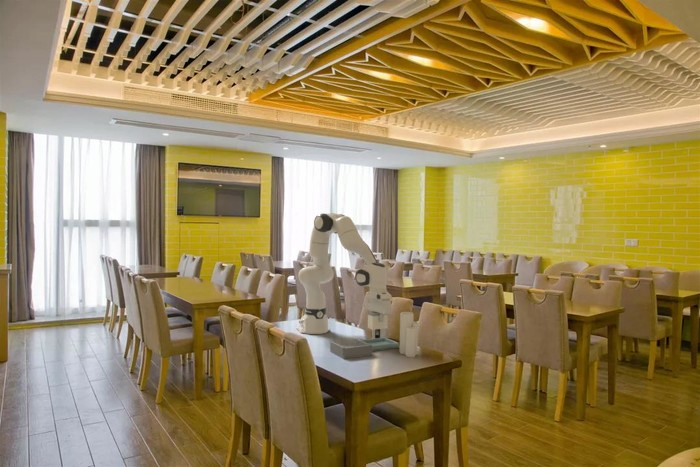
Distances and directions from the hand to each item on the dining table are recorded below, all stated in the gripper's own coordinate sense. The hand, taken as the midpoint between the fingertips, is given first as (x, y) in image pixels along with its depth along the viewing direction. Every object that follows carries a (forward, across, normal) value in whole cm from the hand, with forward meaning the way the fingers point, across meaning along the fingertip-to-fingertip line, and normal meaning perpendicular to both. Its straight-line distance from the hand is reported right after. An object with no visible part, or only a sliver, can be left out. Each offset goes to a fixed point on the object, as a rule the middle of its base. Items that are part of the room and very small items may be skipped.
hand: (377, 320), depth 257 cm
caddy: (+4, 0, 0) cm, 4 cm away
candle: (+14, +19, +7) cm, 24 cm away
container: (+14, -15, +11) cm, 23 cm away
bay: (+14, +6, -19) cm, 24 cm away
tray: (+14, 0, 0) cm, 14 cm away
